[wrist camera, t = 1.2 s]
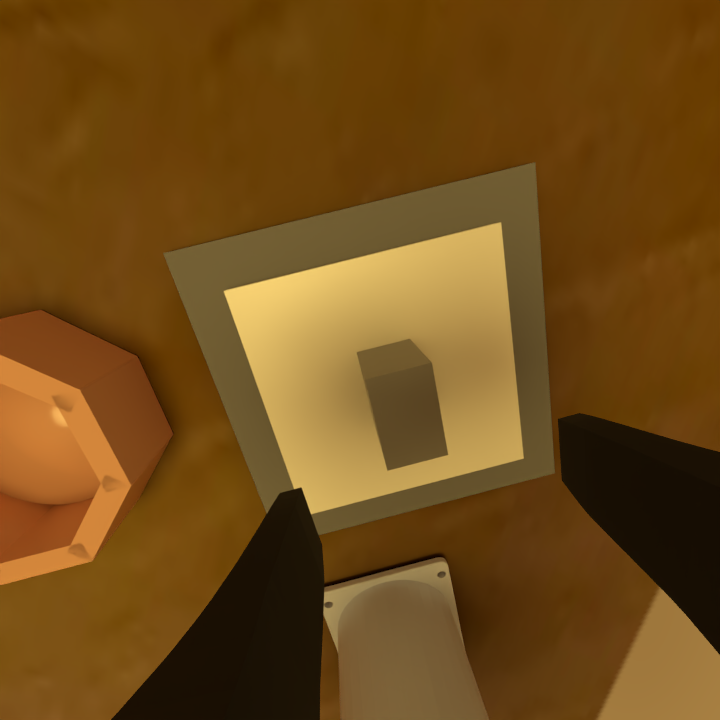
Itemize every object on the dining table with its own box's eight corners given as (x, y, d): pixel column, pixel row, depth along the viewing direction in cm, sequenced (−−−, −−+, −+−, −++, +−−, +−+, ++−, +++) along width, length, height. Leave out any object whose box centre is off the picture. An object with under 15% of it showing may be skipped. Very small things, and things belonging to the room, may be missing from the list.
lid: (517, 452, 19) (566, 504, 15) (304, 508, 19) (299, 575, 15) (494, 223, 15) (552, 214, 12) (227, 289, 15) (194, 303, 11)
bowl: (196, 481, 18) (162, 543, 15) (5, 531, 18) (-79, 606, 14) (108, 292, 15) (36, 308, 11) (-124, 350, 15) (-276, 385, 11)
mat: (550, 468, 20) (554, 473, 20) (280, 539, 20) (279, 545, 20) (530, 164, 15) (535, 162, 15) (167, 253, 15) (163, 253, 15)
